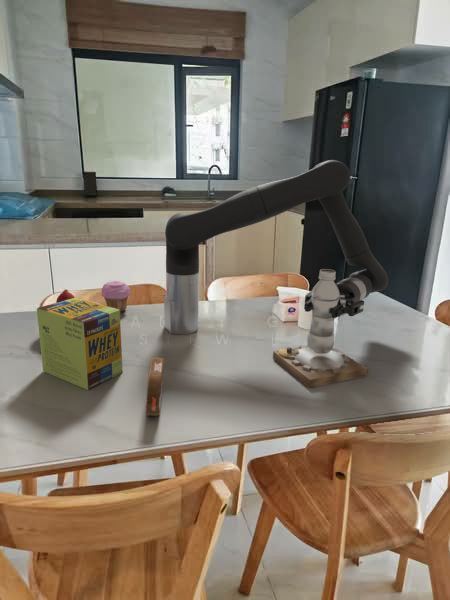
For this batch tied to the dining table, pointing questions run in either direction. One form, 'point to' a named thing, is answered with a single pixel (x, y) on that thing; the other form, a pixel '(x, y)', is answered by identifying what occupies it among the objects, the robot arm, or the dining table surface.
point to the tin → (155, 387)
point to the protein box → (80, 341)
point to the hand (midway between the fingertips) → (319, 310)
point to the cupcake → (116, 294)
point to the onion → (64, 296)
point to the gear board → (318, 365)
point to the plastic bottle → (323, 313)
